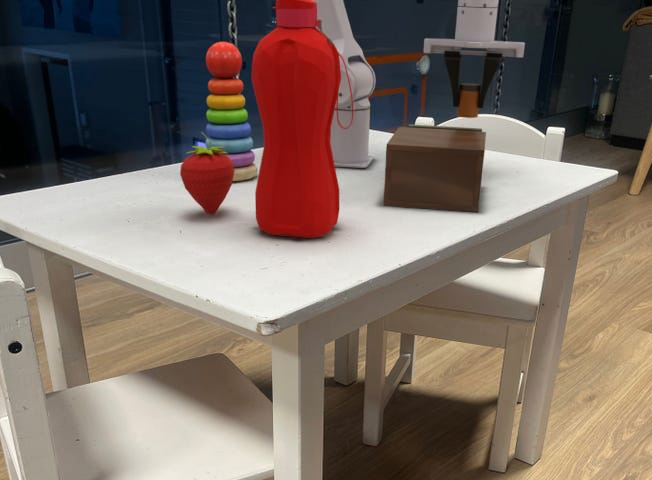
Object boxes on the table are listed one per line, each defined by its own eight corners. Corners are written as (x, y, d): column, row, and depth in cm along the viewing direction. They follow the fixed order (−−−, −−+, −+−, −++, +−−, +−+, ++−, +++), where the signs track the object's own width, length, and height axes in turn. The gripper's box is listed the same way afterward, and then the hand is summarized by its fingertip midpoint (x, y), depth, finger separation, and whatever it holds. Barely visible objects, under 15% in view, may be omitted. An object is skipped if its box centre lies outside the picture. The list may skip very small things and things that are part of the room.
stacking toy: (267, 174, 111) (263, 42, 103) (238, 185, 105) (232, 45, 96) (224, 168, 114) (217, 39, 106) (193, 178, 108) (183, 41, 99)
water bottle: (341, 245, 82) (346, -2, 70) (249, 236, 84) (239, -6, 72) (357, 222, 90) (364, -3, 78) (272, 215, 92) (267, -6, 80)
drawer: (409, 159, 120) (411, 119, 117) (478, 163, 118) (482, 123, 115) (396, 182, 105) (399, 138, 102) (475, 188, 103) (480, 143, 100)
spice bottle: (456, 117, 109) (459, 84, 107) (457, 114, 112) (460, 82, 110) (477, 118, 109) (480, 86, 107) (477, 115, 112) (481, 83, 110)
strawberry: (172, 217, 90) (164, 134, 85) (210, 204, 95) (205, 125, 91) (210, 225, 87) (204, 140, 83) (247, 211, 93) (243, 130, 88)
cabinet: (395, 182, 109) (398, 126, 105) (479, 188, 107) (486, 131, 104) (383, 205, 97) (386, 143, 94) (477, 212, 95) (484, 150, 92)
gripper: (425, 6, 101) (418, 107, 107) (530, 9, 99) (517, 113, 105) (428, 5, 107) (422, 101, 114) (528, 8, 105) (515, 106, 112)
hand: (467, 106), depth 110 cm, fingers closed on spice bottle, 3 cm apart
